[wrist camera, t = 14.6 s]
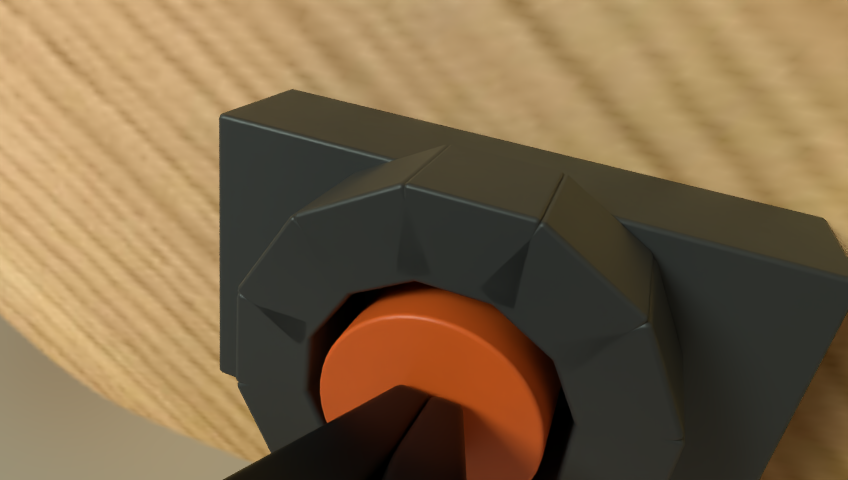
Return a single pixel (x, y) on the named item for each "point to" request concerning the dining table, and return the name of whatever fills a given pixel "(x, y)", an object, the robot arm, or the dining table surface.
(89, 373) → the dining table surface
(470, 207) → the control block
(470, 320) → the button
